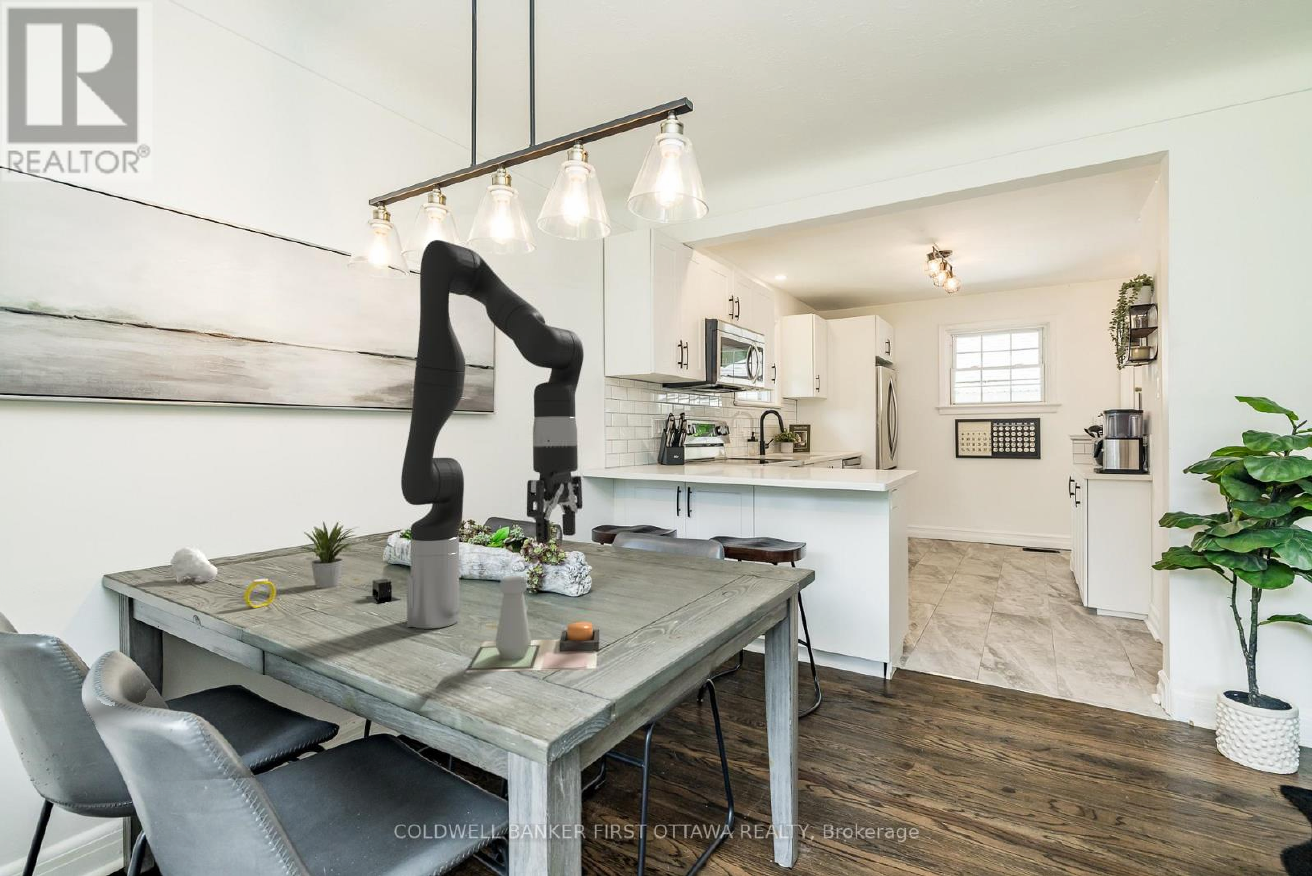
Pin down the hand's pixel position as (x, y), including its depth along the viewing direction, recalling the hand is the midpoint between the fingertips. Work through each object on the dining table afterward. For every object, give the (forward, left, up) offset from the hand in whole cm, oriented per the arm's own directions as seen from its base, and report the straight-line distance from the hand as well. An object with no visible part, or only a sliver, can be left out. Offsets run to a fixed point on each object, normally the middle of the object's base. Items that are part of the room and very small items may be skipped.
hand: (556, 538), depth 103 cm
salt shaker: (-7, -3, -19) cm, 20 cm away
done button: (+4, +2, -18) cm, 18 cm away
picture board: (-3, -2, -20) cm, 20 cm away
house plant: (-61, +53, -20) cm, 83 cm away
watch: (-68, +36, -20) cm, 80 cm away
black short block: (-44, +41, -21) cm, 63 cm away
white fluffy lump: (-98, +62, -20) cm, 118 cm away
